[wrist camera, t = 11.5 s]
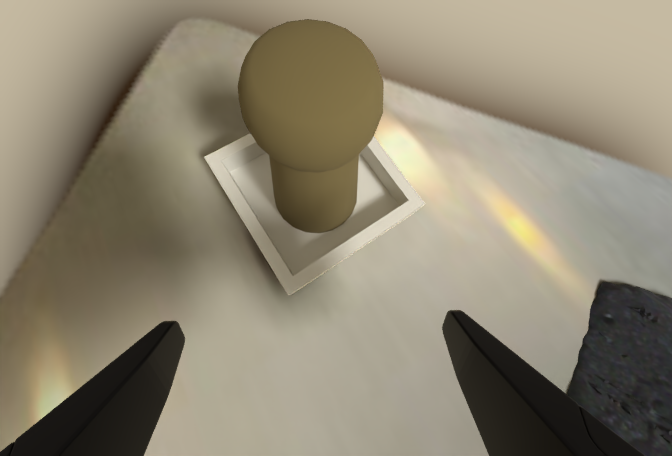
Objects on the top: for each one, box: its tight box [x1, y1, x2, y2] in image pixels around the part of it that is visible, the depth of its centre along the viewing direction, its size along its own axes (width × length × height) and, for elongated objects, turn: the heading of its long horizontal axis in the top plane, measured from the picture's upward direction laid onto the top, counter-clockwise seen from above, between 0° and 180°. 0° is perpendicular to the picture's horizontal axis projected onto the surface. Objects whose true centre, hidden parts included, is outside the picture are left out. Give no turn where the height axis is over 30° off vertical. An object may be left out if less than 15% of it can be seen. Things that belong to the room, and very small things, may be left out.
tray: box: [204, 133, 425, 295], centre depth 18 cm, size 11×11×2 cm
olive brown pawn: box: [238, 19, 383, 233], centre depth 13 cm, size 6×6×11 cm
